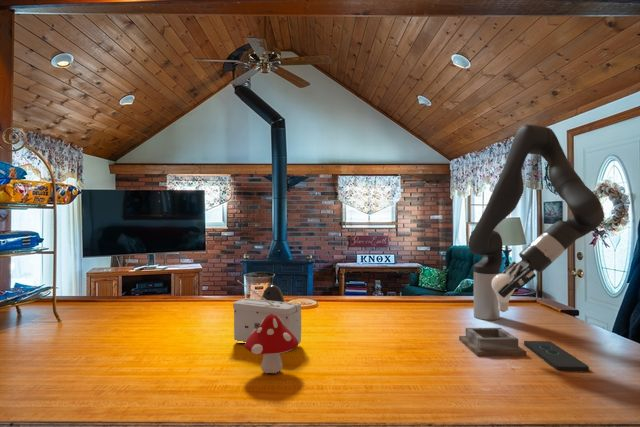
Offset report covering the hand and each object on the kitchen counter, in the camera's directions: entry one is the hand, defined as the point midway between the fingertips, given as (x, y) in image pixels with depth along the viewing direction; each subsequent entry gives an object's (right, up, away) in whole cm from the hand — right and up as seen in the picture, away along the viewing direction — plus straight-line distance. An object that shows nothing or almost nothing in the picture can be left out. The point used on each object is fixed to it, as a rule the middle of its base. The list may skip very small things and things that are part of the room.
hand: (497, 292), depth 114 cm
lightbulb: (+2, -6, 0) cm, 6 cm away
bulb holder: (0, -17, +4) cm, 18 cm away
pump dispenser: (-68, -18, +25) cm, 75 cm away
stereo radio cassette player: (-68, -18, +8) cm, 71 cm away
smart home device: (+14, -18, -3) cm, 23 cm away
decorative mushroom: (-64, -18, -13) cm, 68 cm away
